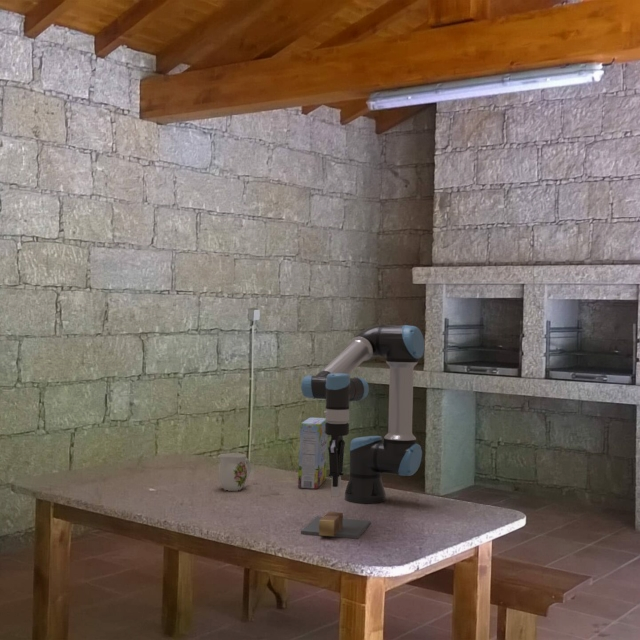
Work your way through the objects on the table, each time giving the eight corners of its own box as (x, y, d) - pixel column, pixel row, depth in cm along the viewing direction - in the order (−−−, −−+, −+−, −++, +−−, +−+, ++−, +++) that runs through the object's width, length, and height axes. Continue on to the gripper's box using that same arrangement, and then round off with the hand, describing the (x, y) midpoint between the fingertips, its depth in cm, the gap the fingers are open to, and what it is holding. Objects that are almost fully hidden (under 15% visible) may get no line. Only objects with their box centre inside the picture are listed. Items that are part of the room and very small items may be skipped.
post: (329, 511, 275) (319, 520, 263) (342, 512, 274) (333, 521, 262) (328, 525, 275) (319, 535, 263) (342, 527, 274) (333, 536, 262)
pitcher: (260, 487, 339) (260, 452, 339) (228, 494, 325) (229, 458, 324) (239, 483, 346) (239, 449, 345) (207, 490, 331) (208, 454, 331)
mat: (317, 519, 287) (317, 516, 287) (370, 523, 283) (370, 520, 283) (300, 534, 268) (301, 530, 268) (357, 538, 264) (357, 535, 264)
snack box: (319, 489, 336) (320, 423, 336) (297, 488, 337) (298, 423, 337) (327, 479, 357) (328, 417, 357) (306, 478, 359) (307, 416, 359)
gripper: (330, 419, 281) (329, 491, 281) (320, 423, 269) (319, 499, 269) (353, 420, 279) (351, 493, 279) (344, 425, 267) (342, 501, 267)
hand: (335, 496), depth 274 cm, fingers closed
